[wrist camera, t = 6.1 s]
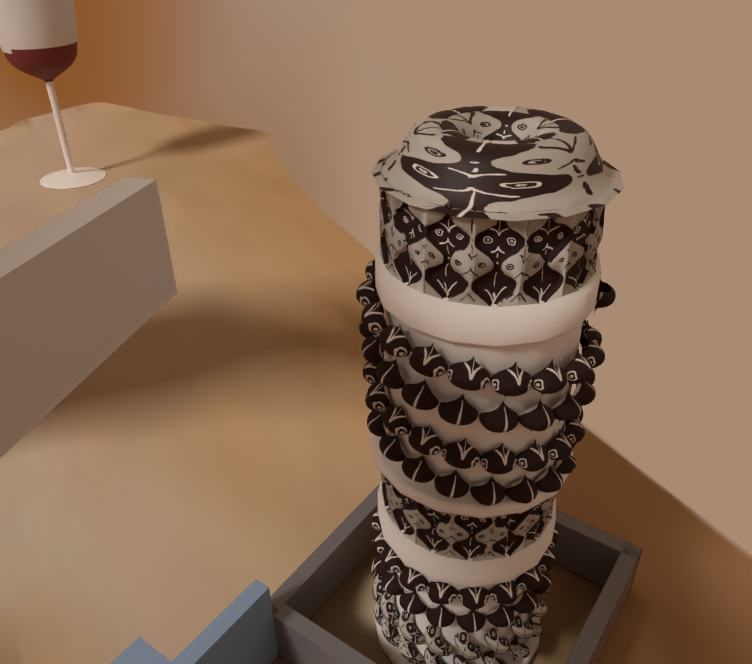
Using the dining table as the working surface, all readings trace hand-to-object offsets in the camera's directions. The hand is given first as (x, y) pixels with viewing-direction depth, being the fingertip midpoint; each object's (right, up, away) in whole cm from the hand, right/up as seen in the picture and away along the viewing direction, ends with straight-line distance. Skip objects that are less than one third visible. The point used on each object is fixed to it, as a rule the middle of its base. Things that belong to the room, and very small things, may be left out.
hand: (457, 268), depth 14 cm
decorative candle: (+2, -16, +22) cm, 27 cm away
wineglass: (-42, +19, +78) cm, 90 cm away
